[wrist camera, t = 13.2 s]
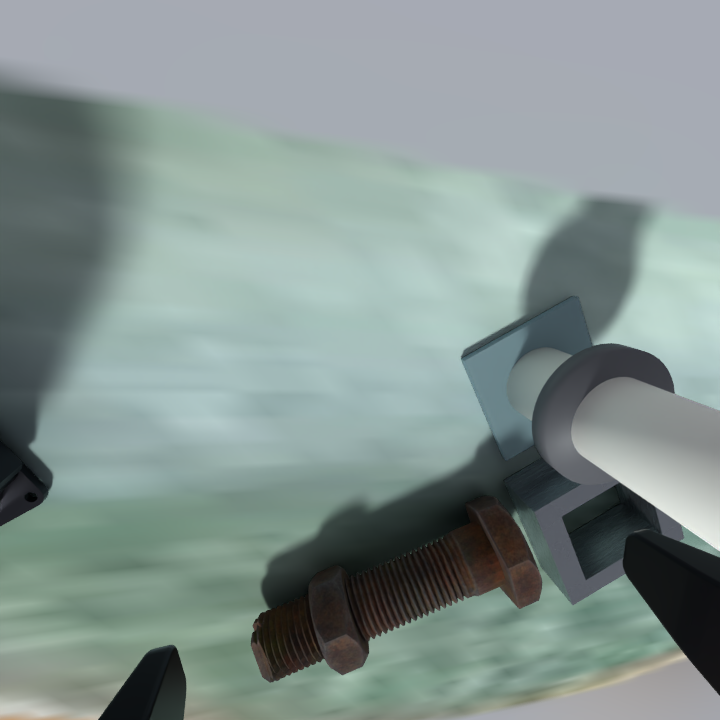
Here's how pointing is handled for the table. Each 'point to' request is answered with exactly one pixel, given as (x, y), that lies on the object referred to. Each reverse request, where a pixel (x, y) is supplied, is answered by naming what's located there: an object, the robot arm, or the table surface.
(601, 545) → the block
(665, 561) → the robot arm
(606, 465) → the pin
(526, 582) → the bolt
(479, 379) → the mat
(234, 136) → the table surface
